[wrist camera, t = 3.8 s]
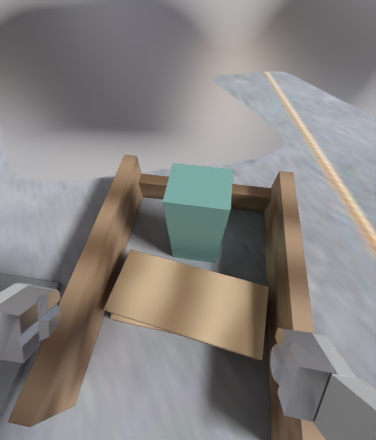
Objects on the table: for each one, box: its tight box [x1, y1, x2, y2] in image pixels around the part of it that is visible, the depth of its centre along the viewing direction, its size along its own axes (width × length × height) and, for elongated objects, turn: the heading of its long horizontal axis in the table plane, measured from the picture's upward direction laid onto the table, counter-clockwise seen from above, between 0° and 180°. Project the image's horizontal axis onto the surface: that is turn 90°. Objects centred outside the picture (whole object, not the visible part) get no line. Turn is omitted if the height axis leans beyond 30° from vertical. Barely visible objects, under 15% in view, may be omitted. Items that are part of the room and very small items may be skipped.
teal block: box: [163, 163, 233, 263], centre depth 21 cm, size 5×4×11 cm
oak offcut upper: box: [104, 250, 269, 360], centre depth 21 cm, size 14×6×2 cm, turn 74°
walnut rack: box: [8, 155, 326, 440], centre depth 21 cm, size 24×20×6 cm
